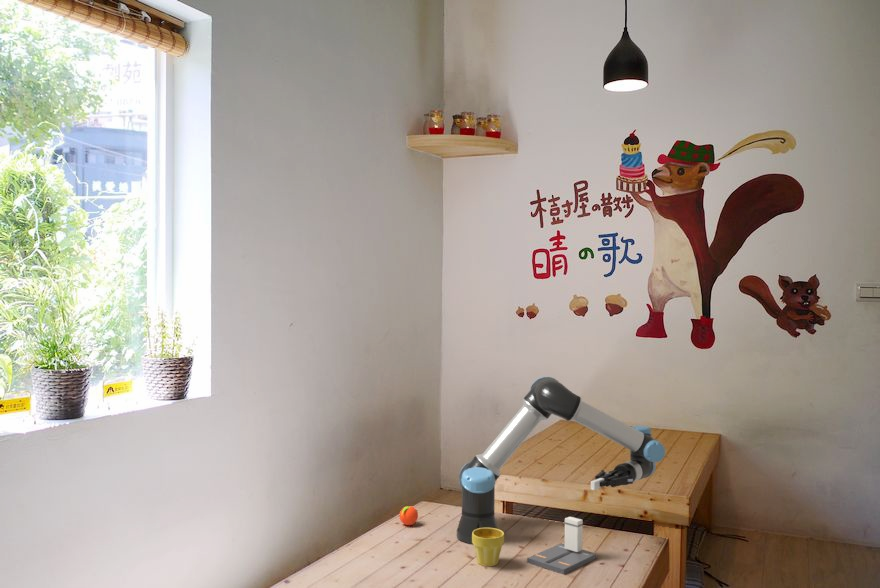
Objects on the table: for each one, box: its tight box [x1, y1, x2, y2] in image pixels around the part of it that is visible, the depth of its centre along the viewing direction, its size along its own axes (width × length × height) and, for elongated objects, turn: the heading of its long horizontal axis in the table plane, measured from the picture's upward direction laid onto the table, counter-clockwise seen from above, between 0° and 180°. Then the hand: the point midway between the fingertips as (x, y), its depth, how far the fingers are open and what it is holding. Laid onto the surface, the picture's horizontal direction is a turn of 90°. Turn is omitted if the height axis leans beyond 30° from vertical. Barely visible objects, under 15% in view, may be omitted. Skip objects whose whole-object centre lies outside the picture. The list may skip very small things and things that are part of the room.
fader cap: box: [564, 516, 584, 552], centre depth 247 cm, size 5×3×10 cm, turn 46°
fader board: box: [526, 542, 598, 575], centre depth 242 cm, size 14×19×2 cm
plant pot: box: [472, 528, 505, 567], centre depth 240 cm, size 10×10×10 cm
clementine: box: [399, 505, 419, 526], centre depth 276 cm, size 8×7×7 cm
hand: (592, 485), depth 254 cm, fingers closed
